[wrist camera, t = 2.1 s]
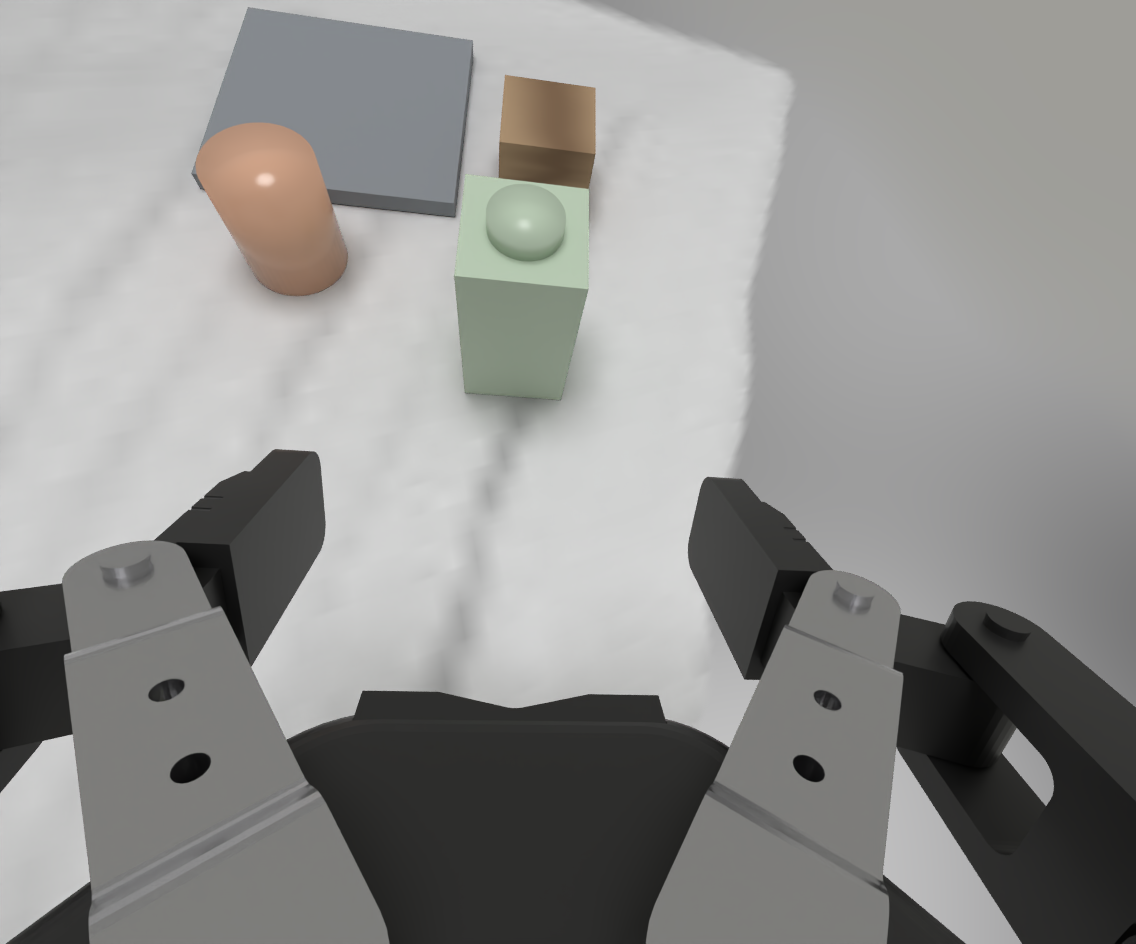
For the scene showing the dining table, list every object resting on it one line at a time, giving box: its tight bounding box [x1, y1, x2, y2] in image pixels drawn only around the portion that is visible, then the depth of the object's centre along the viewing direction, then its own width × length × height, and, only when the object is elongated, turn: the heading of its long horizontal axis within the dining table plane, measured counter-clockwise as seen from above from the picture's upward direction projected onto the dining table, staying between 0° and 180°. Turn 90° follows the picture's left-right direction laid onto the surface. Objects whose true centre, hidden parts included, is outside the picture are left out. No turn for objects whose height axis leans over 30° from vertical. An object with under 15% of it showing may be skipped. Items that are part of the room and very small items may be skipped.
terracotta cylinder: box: [196, 123, 348, 296], centre depth 28 cm, size 5×5×6 cm
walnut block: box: [499, 75, 595, 189], centre depth 32 cm, size 5×5×5 cm
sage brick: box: [454, 174, 589, 400], centre depth 25 cm, size 5×5×10 cm
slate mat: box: [191, 7, 473, 217], centre depth 34 cm, size 14×14×1 cm
